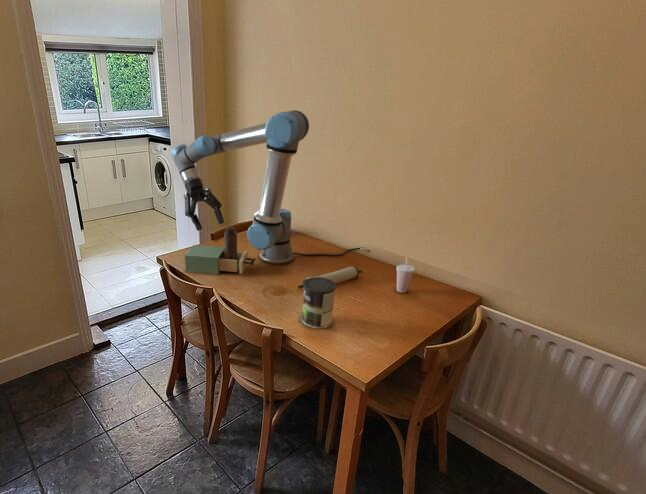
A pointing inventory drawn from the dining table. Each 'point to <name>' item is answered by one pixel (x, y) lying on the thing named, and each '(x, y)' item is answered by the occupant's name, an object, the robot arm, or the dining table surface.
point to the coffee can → (318, 302)
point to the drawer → (234, 262)
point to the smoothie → (404, 276)
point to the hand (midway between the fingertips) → (211, 226)
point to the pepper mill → (230, 243)
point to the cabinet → (203, 259)
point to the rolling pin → (339, 275)
